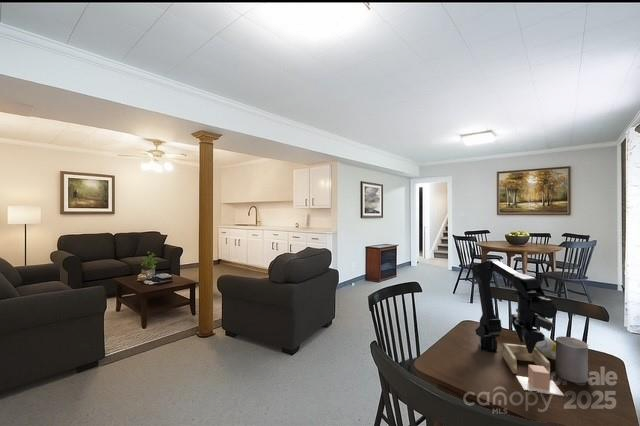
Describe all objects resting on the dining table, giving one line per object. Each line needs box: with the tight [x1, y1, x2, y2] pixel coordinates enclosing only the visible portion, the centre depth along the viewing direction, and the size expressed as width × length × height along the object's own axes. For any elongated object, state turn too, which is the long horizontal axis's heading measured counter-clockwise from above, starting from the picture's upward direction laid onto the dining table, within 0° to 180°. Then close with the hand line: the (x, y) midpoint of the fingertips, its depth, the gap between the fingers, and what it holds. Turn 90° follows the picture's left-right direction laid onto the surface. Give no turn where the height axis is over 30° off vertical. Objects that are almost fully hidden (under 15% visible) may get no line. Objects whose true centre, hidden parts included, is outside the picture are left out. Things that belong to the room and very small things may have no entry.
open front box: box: [502, 342, 551, 374], centre depth 123 cm, size 12×14×6 cm
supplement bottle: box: [535, 335, 556, 360], centre depth 127 cm, size 7×7×13 cm
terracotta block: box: [527, 364, 551, 390], centre depth 110 cm, size 5×5×6 cm
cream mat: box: [515, 375, 565, 397], centre depth 110 cm, size 12×9×1 cm
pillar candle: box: [555, 335, 589, 384], centre depth 115 cm, size 10×10×15 cm
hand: (525, 347), depth 118 cm, fingers open, 9 cm apart
